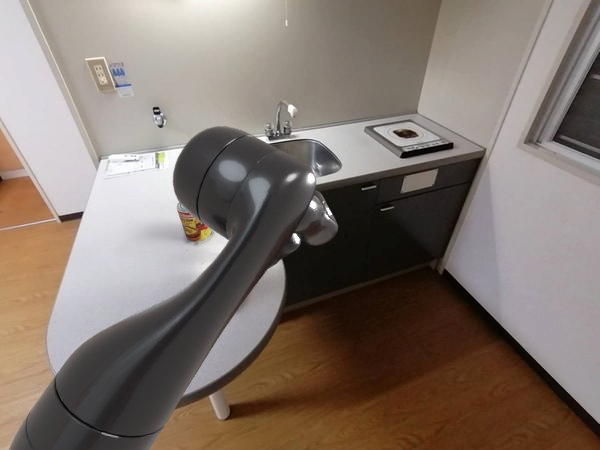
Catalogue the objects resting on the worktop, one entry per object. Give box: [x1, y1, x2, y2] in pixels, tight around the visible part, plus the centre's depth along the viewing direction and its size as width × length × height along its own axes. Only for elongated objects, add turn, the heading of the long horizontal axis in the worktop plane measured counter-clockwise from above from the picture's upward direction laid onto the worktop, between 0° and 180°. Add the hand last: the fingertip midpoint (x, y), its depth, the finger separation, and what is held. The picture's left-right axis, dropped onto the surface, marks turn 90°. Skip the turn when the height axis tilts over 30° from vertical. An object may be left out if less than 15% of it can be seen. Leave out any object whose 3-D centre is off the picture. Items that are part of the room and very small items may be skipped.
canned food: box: [175, 201, 212, 243], centre depth 96 cm, size 8×8×12 cm
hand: (219, 281), depth 76 cm, fingers open, 8 cm apart
